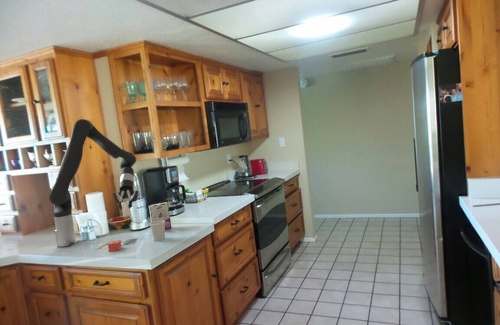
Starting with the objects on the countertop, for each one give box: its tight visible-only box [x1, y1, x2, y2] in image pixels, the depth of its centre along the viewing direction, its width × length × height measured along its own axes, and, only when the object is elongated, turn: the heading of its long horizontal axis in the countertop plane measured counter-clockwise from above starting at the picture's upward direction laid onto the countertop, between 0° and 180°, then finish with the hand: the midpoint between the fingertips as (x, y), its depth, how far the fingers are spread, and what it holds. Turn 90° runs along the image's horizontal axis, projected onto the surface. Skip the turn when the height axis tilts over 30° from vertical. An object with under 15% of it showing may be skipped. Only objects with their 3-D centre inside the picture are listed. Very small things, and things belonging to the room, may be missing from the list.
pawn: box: [121, 200, 132, 218], centre depth 183 cm, size 4×4×8 cm
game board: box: [94, 237, 139, 251], centre depth 184 cm, size 21×12×1 cm, turn 99°
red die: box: [108, 239, 122, 252], centre depth 174 cm, size 5×5×5 cm
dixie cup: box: [149, 220, 166, 242], centre depth 187 cm, size 8×8×10 cm
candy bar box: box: [148, 201, 172, 231], centre depth 207 cm, size 11×5×16 cm, turn 117°
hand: (125, 208), depth 182 cm, fingers closed on pawn, 4 cm apart
